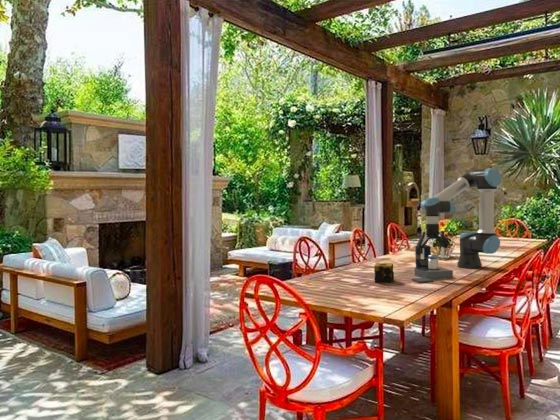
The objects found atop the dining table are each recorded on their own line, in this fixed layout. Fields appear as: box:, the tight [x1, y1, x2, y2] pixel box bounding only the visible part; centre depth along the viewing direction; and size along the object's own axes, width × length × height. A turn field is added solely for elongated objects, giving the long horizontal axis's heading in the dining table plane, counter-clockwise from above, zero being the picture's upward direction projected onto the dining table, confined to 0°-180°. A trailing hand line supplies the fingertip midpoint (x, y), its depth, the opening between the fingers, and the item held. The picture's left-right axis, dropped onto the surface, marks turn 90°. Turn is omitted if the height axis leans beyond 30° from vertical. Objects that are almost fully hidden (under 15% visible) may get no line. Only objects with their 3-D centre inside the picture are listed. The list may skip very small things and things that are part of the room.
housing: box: [414, 266, 454, 280], centre depth 289 cm, size 16×16×4 cm
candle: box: [373, 262, 395, 284], centre depth 279 cm, size 10×10×10 cm
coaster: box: [411, 277, 435, 284], centre depth 276 cm, size 9×9×1 cm
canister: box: [414, 244, 432, 268], centre depth 304 cm, size 10×10×18 cm
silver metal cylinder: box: [428, 254, 439, 270], centre depth 289 cm, size 6×6×13 cm
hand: (432, 258), depth 288 cm, fingers open, 13 cm apart
